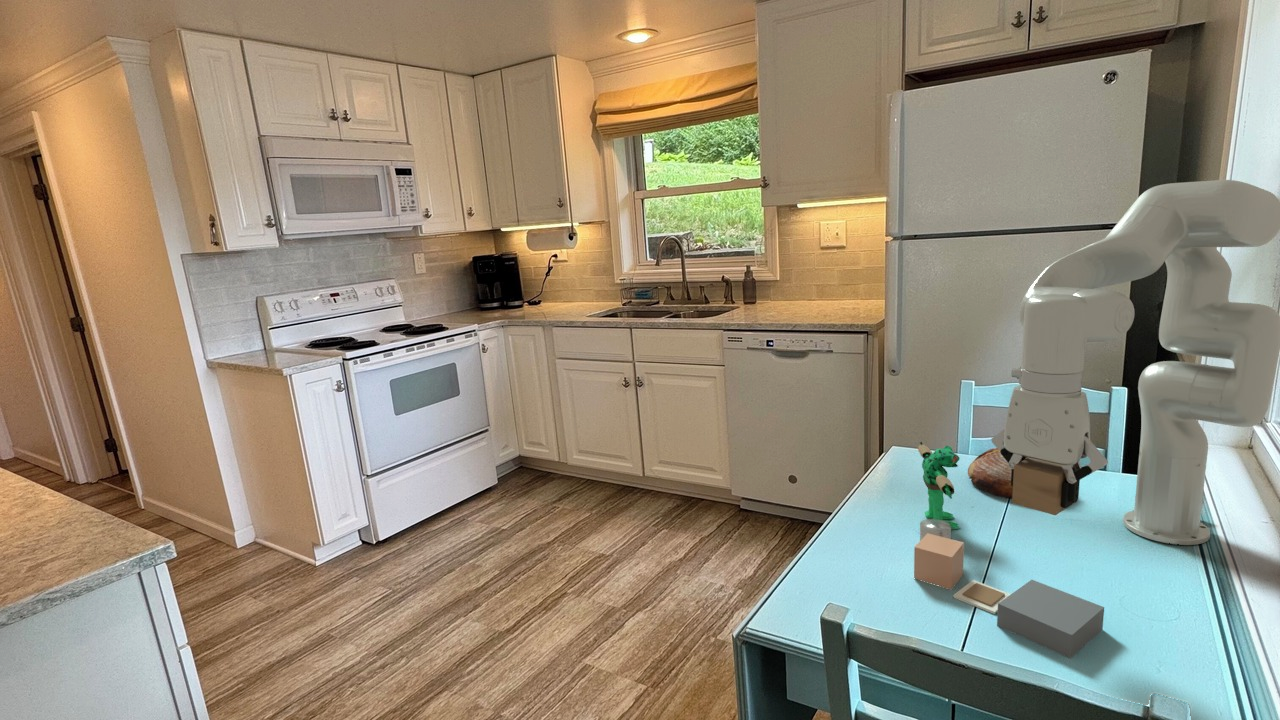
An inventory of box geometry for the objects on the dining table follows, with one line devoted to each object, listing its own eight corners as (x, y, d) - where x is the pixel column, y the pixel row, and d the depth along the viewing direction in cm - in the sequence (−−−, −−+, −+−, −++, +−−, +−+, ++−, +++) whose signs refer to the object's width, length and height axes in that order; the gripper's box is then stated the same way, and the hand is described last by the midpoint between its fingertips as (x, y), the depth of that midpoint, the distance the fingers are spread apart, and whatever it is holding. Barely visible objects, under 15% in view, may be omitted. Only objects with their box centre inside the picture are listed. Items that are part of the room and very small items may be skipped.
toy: (976, 554, 119) (979, 476, 116) (937, 553, 121) (939, 475, 118) (942, 495, 144) (943, 429, 141) (910, 494, 145) (911, 429, 142)
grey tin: (928, 546, 123) (929, 516, 122) (955, 555, 119) (956, 524, 118) (914, 556, 120) (914, 525, 119) (940, 566, 117) (941, 534, 115)
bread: (1055, 515, 134) (1058, 470, 131) (954, 492, 148) (954, 450, 145) (1077, 484, 145) (1080, 441, 142) (981, 465, 158) (982, 425, 156)
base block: (1030, 602, 105) (1031, 579, 104) (1102, 631, 97) (1104, 607, 96) (996, 627, 99) (997, 603, 99) (1070, 661, 91) (1071, 635, 91)
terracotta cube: (926, 564, 117) (927, 533, 116) (962, 574, 113) (963, 542, 112) (914, 579, 113) (914, 547, 112) (951, 590, 109) (952, 557, 108)
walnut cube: (1030, 491, 104) (1032, 455, 102) (1073, 503, 99) (1076, 465, 98) (1012, 503, 100) (1014, 465, 99) (1055, 515, 95) (1058, 476, 94)
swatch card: (973, 582, 111) (973, 578, 111) (1014, 597, 106) (1014, 593, 106) (953, 597, 107) (953, 593, 107) (994, 614, 102) (994, 610, 102)
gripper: (977, 377, 100) (972, 489, 104) (1109, 396, 87) (1098, 525, 90) (1002, 368, 105) (996, 476, 108) (1131, 385, 91) (1120, 509, 95)
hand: (1043, 497), depth 99 cm, fingers closed on walnut cube, 6 cm apart
